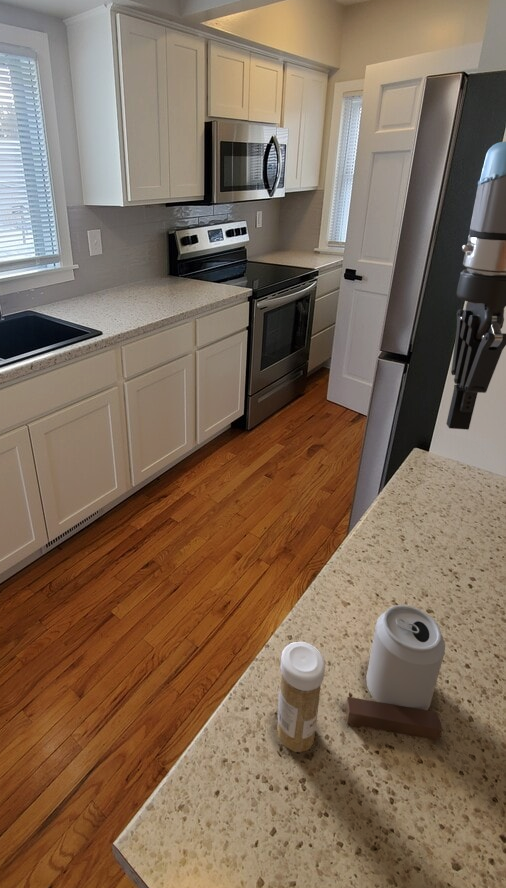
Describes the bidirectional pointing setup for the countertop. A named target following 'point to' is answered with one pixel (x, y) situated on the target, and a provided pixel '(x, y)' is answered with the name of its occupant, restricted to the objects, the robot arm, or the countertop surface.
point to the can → (405, 658)
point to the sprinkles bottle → (299, 695)
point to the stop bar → (393, 718)
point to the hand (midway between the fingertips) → (457, 426)
